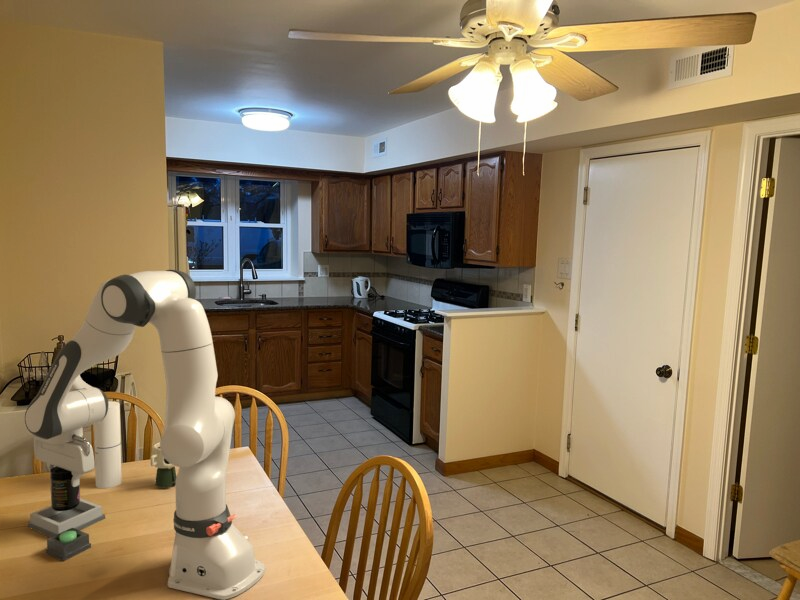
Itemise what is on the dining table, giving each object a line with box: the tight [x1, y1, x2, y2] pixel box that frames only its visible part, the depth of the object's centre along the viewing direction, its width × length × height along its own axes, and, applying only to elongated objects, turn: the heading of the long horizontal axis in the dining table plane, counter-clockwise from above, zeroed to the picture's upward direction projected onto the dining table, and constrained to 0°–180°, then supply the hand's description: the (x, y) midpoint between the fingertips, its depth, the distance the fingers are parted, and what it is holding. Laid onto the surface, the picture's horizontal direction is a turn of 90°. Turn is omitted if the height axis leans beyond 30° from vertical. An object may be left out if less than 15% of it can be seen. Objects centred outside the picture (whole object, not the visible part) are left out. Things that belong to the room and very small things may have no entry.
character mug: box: [150, 441, 177, 489], centre depth 176 cm, size 11×7×13 cm, turn 153°
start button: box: [59, 531, 77, 543], centre depth 139 cm, size 4×4×2 cm
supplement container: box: [49, 466, 81, 511], centre depth 151 cm, size 7×7×10 cm
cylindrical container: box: [93, 401, 123, 489], centre depth 175 cm, size 7×7×25 cm
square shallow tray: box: [26, 497, 106, 538], centre depth 152 cm, size 13×13×4 cm
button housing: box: [44, 528, 92, 562], centre depth 139 cm, size 7×7×4 cm
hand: (65, 482), depth 151 cm, fingers closed on supplement container, 7 cm apart
